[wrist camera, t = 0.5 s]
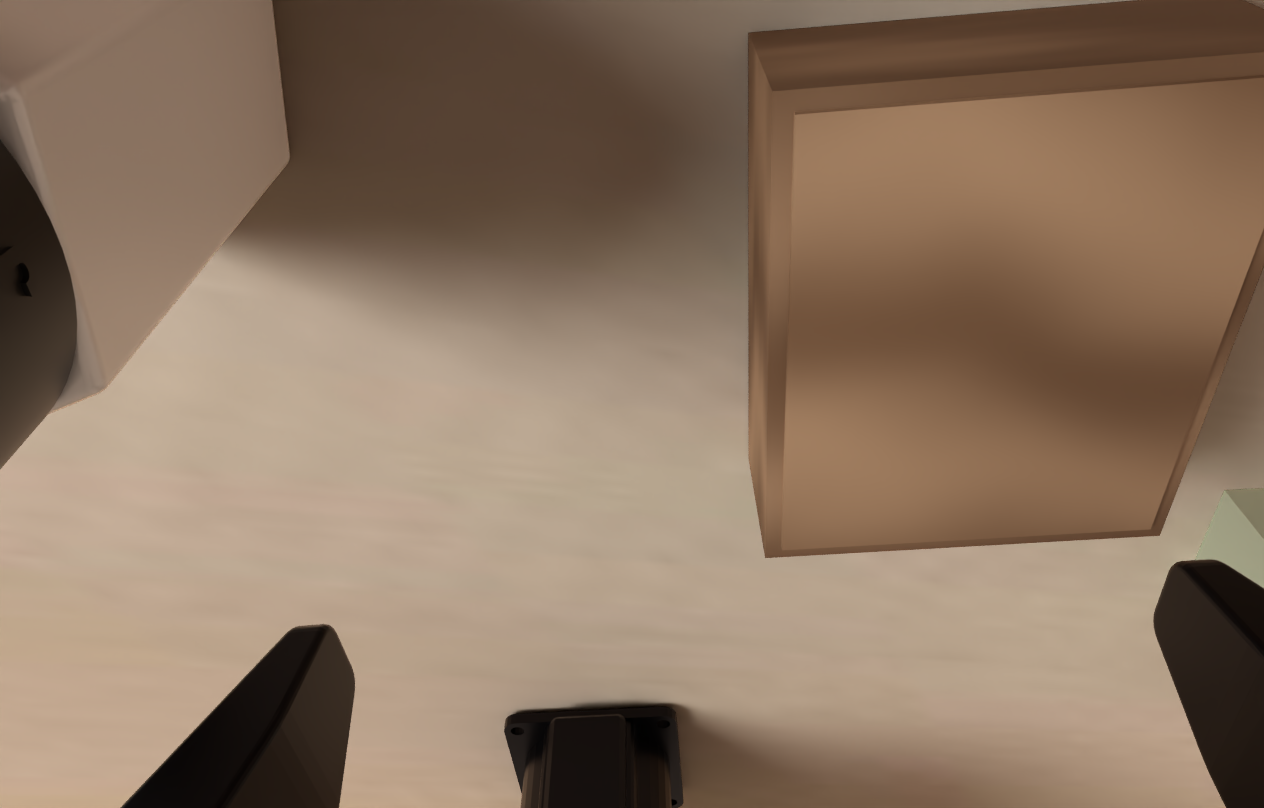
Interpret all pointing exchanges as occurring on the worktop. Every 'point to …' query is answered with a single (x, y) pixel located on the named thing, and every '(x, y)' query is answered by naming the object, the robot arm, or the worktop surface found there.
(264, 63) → the jar
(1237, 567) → the sage block
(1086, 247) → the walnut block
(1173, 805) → the worktop surface
